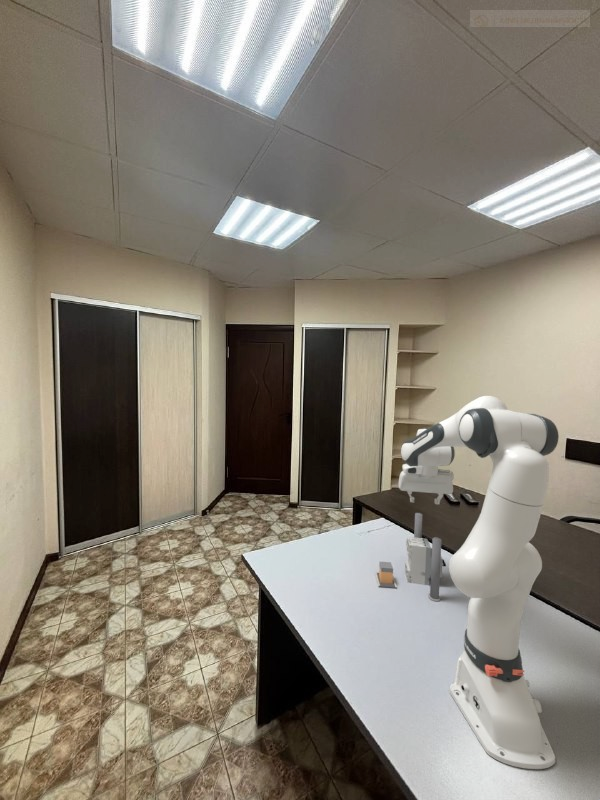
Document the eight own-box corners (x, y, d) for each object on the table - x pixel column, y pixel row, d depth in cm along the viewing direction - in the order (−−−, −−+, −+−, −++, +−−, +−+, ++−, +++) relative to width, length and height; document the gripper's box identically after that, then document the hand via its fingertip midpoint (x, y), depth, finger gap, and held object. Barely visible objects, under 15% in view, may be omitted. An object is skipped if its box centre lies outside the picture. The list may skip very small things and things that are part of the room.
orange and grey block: (392, 583, 125) (393, 568, 125) (380, 582, 125) (381, 567, 125) (390, 576, 130) (390, 562, 129) (378, 576, 130) (379, 561, 130)
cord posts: (441, 602, 116) (444, 542, 115) (430, 601, 116) (433, 541, 115) (420, 561, 143) (422, 512, 142) (410, 560, 143) (412, 512, 142)
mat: (397, 588, 123) (397, 587, 123) (378, 587, 123) (378, 585, 123) (392, 574, 132) (392, 573, 132) (374, 573, 132) (374, 572, 132)
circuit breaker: (446, 587, 124) (447, 549, 124) (407, 582, 127) (408, 545, 126) (441, 576, 132) (443, 540, 131) (405, 571, 134) (406, 536, 134)
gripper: (451, 468, 129) (449, 502, 129) (398, 464, 132) (397, 498, 133) (456, 472, 123) (454, 507, 123) (400, 468, 126) (399, 503, 126)
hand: (424, 502), depth 128 cm, fingers open, 8 cm apart
